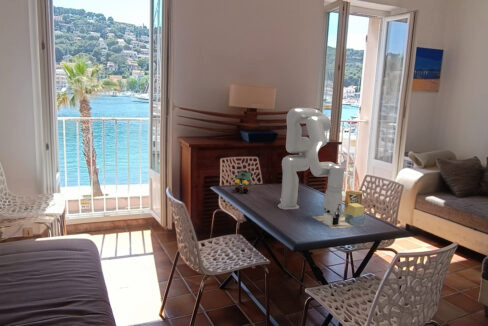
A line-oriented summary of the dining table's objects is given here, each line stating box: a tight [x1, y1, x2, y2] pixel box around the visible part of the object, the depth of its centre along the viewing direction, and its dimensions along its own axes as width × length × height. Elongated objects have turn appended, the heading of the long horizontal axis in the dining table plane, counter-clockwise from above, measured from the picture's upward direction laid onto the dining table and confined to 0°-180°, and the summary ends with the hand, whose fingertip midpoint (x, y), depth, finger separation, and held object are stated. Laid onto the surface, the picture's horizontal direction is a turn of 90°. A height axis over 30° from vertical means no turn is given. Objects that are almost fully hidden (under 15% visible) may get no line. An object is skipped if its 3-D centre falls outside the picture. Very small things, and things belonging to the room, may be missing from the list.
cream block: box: [323, 212, 340, 227], centre depth 200 cm, size 6×6×5 cm
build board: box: [312, 213, 366, 229], centre depth 206 cm, size 19×20×6 cm
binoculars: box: [233, 169, 255, 194], centre depth 263 cm, size 14×14×15 cm
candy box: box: [343, 189, 363, 216], centre depth 217 cm, size 9×4×15 cm, turn 75°
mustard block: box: [347, 203, 365, 216], centre depth 202 cm, size 6×6×5 cm
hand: (331, 222), depth 201 cm, fingers closed on cream block, 6 cm apart
